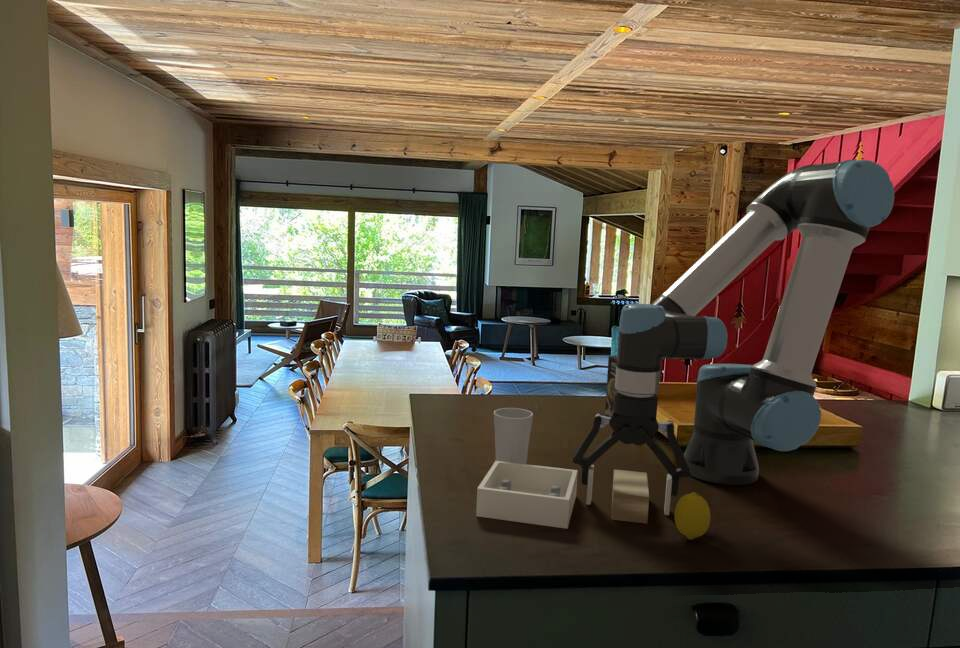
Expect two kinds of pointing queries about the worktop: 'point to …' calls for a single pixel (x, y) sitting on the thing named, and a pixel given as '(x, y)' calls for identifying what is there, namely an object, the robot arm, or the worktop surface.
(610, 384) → the coffee box
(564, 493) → the white open box
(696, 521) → the lemon
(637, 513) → the beige rectangular block
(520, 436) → the cup
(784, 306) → the robot arm
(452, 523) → the worktop surface
